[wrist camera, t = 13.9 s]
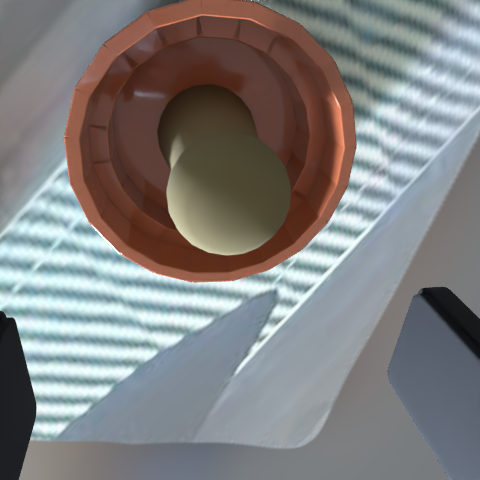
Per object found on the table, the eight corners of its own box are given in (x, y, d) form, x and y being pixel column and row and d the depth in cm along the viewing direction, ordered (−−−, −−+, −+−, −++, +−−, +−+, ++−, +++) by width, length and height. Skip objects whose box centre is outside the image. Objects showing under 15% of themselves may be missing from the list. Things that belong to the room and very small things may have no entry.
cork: (144, 96, 24) (134, 157, 14) (246, 73, 24) (302, 117, 15) (172, 191, 27) (179, 293, 17) (262, 170, 27) (317, 258, 18)
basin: (72, -14, 21) (43, -19, 16) (337, 12, 24) (385, 13, 19) (96, 234, 28) (82, 286, 23) (299, 232, 31) (328, 278, 25)
